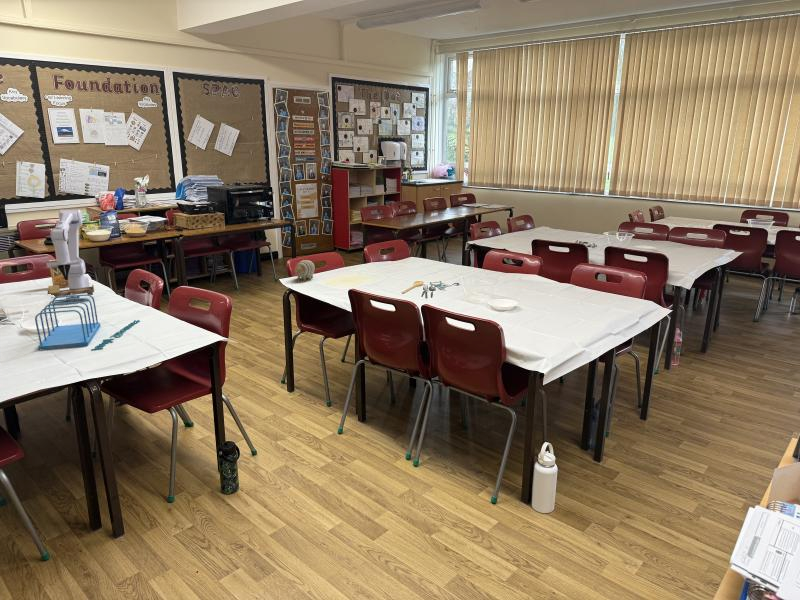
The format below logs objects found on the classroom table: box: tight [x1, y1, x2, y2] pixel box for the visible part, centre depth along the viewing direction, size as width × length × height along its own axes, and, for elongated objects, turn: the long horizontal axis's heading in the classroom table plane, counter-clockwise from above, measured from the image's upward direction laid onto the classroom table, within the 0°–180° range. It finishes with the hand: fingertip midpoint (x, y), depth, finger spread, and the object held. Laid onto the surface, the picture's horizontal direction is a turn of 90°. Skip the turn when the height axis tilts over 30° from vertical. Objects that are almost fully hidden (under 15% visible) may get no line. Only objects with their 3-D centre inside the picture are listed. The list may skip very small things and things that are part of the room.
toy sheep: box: [294, 259, 316, 281], centre depth 329 cm, size 11×17×11 cm, turn 160°
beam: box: [47, 284, 95, 298], centre depth 282 cm, size 20×6×4 cm, turn 119°
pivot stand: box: [65, 292, 81, 306], centre depth 282 cm, size 6×11×5 cm, turn 29°
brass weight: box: [47, 284, 60, 294], centre depth 278 cm, size 4×4×4 cm
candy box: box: [48, 258, 69, 289], centre depth 308 cm, size 9×4×15 cm, turn 118°
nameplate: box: [90, 319, 141, 351], centre depth 236 cm, size 37×1×5 cm
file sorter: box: [34, 293, 101, 351], centre depth 230 cm, size 25×17×15 cm
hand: (66, 279), depth 283 cm, fingers closed
